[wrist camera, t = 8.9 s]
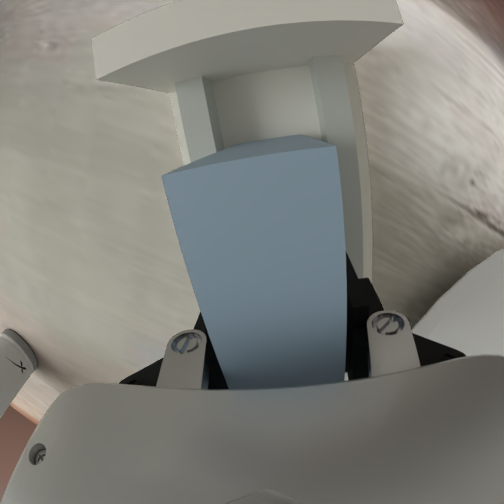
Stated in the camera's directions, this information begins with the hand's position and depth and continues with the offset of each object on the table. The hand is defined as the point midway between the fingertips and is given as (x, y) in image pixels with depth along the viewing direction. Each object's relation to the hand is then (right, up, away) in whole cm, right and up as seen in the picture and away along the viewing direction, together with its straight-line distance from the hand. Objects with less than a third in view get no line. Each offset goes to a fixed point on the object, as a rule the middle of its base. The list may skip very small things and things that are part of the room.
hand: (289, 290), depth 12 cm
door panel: (0, +1, +3) cm, 4 cm away
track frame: (+1, +2, +4) cm, 4 cm away
